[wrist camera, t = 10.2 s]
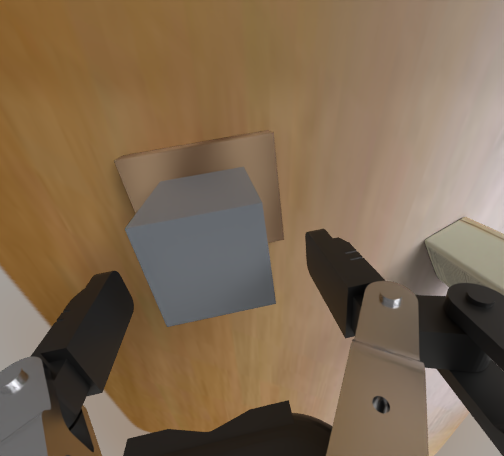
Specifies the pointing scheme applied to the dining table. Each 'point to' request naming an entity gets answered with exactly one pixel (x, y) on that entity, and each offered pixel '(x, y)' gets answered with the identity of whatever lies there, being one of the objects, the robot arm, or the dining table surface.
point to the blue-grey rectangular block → (204, 246)
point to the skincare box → (468, 254)
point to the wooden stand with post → (209, 170)
